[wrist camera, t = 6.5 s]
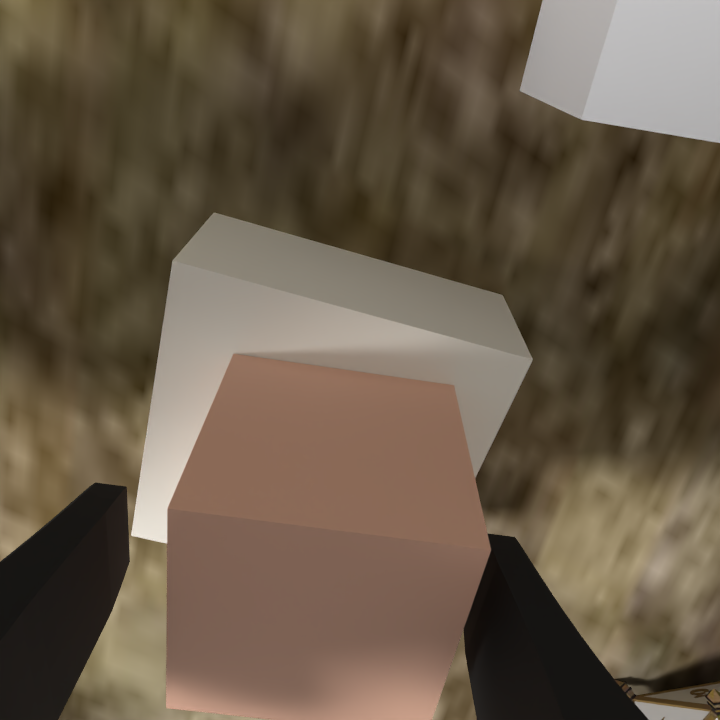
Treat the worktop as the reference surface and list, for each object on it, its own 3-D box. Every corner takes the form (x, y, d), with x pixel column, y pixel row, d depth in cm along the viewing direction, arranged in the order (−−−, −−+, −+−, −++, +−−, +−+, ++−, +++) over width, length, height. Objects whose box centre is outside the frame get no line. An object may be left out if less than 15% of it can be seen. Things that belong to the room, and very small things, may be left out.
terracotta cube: (222, 521, 16) (166, 708, 12) (233, 353, 14) (167, 509, 9) (411, 545, 16) (426, 735, 12) (454, 385, 14) (490, 549, 10)
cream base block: (174, 445, 20) (131, 535, 16) (216, 209, 16) (172, 260, 13) (409, 502, 21) (416, 598, 17) (500, 290, 17) (532, 359, 14)
